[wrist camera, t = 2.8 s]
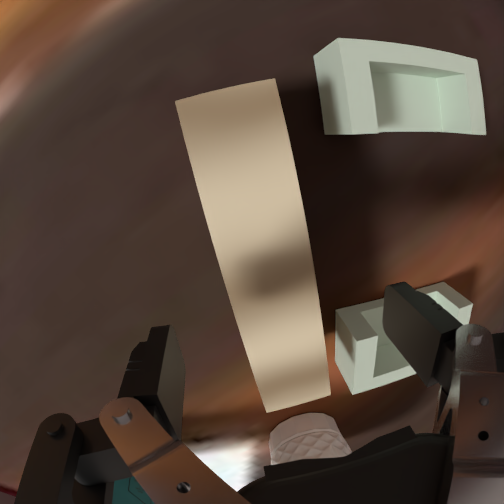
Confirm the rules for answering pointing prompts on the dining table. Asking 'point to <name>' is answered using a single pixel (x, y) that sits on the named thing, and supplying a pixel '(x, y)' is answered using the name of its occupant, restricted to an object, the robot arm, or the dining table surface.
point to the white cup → (307, 439)
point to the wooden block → (259, 236)
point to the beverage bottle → (129, 492)
